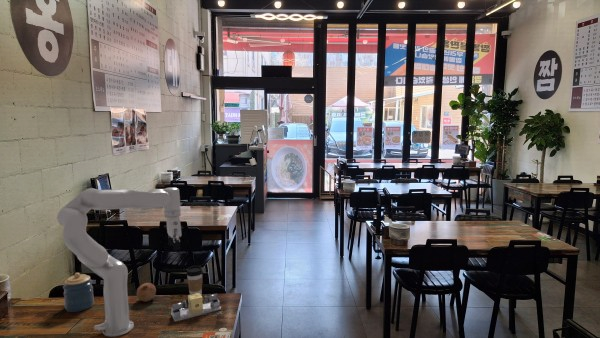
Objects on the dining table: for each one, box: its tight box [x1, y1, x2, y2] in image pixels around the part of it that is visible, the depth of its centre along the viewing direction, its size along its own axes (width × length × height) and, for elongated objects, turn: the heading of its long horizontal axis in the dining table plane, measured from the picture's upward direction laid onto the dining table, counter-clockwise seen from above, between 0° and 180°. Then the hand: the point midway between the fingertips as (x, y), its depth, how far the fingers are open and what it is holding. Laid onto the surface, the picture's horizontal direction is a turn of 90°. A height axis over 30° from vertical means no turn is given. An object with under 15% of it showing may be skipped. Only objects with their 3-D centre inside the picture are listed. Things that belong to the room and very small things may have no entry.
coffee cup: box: [186, 265, 204, 296], centre depth 206 cm, size 8×8×15 cm
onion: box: [136, 282, 157, 303], centre depth 202 cm, size 10×9×10 cm
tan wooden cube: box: [187, 293, 204, 314], centre depth 188 cm, size 6×6×7 cm
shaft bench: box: [170, 293, 222, 323], centre depth 189 cm, size 22×8×7 cm, turn 121°
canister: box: [62, 272, 95, 313], centre depth 196 cm, size 13×13×18 cm
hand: (174, 247), depth 192 cm, fingers open, 9 cm apart
